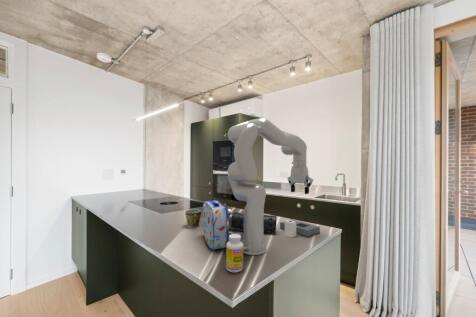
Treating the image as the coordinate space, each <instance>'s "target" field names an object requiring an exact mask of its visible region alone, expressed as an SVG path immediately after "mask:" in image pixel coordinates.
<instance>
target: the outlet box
mask: <svg viewBox="0 0 476 317" xmlns="http://www.w3.org/2000/svg"><path fill="white" fill-rule="evenodd" d="M288 220H289V219H287V220H284V221H280V222H279V229H281V230H283V231H285V221H288ZM290 220H291V221H295V222H296V235H297V236H301V237H304V238H311V237H314V236H317V235H319V234H321V226H319V225H315V224H311V223H307V222H303V221H300V220H296V219H293V218H292V219H290Z"/></svg>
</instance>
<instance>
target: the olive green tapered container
mask: <svg viewBox="0 0 476 317" xmlns="http://www.w3.org/2000/svg"><path fill="white" fill-rule="evenodd" d="M184 214H185V218H186V224H187V227H188V228H189V229H198V227H199V226H200V219H201V217H202V209H187V210H185V212H184Z"/></svg>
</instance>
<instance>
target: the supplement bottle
mask: <svg viewBox="0 0 476 317" xmlns="http://www.w3.org/2000/svg"><path fill="white" fill-rule="evenodd" d="M241 239H242V235H240V234H239V233H231V235H229V240H230V241H229V242H228V243H227V245H226V248H225V250H226V253H225V254H226V255H225V256H226V257H225V259H226V260H225V268H226V270H227V271H228V272H230V273H238V272H242V270H244V253H243V243H242V240H241Z"/></svg>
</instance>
